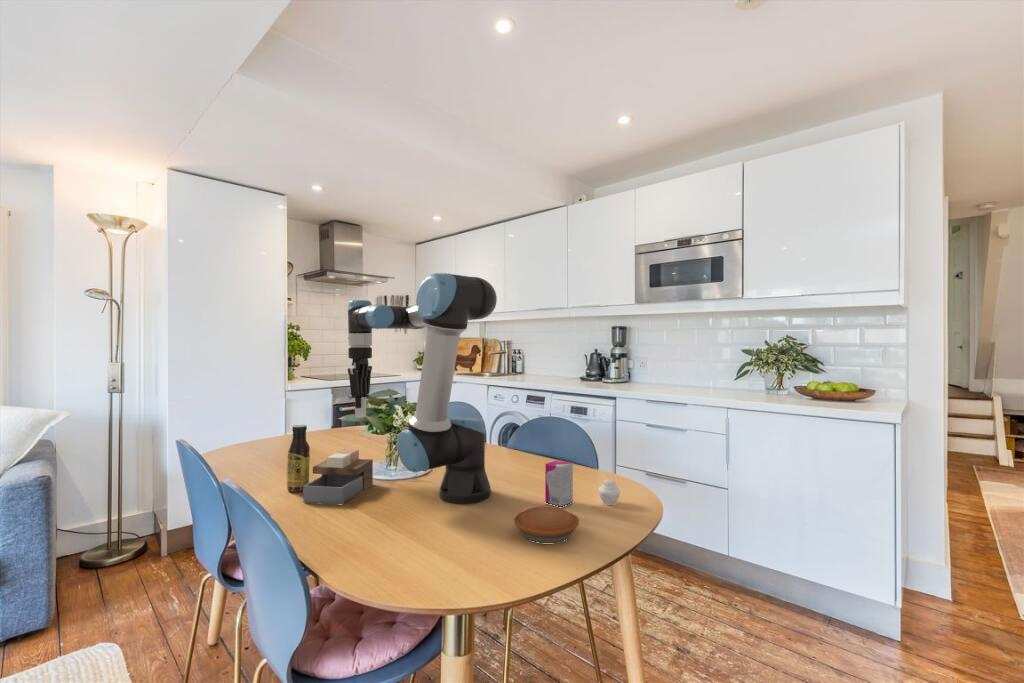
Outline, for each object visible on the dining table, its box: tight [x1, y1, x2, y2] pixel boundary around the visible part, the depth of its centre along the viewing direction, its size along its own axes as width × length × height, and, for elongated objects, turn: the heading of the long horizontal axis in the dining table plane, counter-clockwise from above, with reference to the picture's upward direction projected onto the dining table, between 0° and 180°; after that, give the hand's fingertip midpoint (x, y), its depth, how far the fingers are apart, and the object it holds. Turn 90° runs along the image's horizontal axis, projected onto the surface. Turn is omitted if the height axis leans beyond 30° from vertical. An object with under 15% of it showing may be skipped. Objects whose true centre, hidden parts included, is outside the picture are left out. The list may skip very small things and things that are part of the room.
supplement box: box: [544, 459, 574, 508], centre depth 133 cm, size 6×6×12 cm
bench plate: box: [312, 458, 374, 491], centre depth 146 cm, size 14×11×8 cm
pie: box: [513, 505, 580, 544], centre depth 112 cm, size 16×16×5 cm
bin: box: [302, 474, 364, 506], centre depth 139 cm, size 12×12×5 cm
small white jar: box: [597, 478, 621, 506], centre depth 133 cm, size 6×6×7 cm
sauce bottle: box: [286, 424, 311, 493], centre depth 146 cm, size 6×6×20 cm
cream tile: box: [326, 452, 351, 468], centre depth 144 cm, size 5×5×3 cm
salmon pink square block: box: [336, 448, 360, 463], centre depth 149 cm, size 5×5×3 cm
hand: (360, 416), depth 158 cm, fingers closed
